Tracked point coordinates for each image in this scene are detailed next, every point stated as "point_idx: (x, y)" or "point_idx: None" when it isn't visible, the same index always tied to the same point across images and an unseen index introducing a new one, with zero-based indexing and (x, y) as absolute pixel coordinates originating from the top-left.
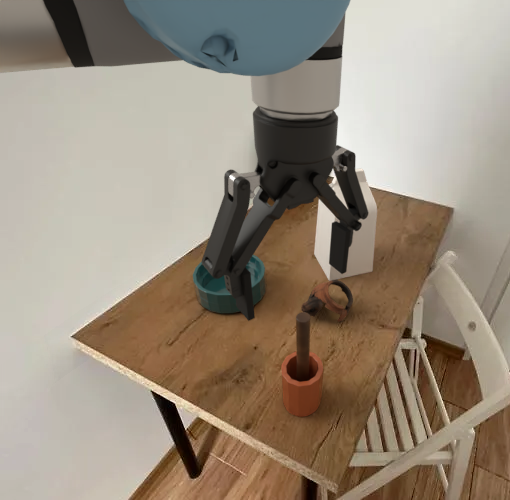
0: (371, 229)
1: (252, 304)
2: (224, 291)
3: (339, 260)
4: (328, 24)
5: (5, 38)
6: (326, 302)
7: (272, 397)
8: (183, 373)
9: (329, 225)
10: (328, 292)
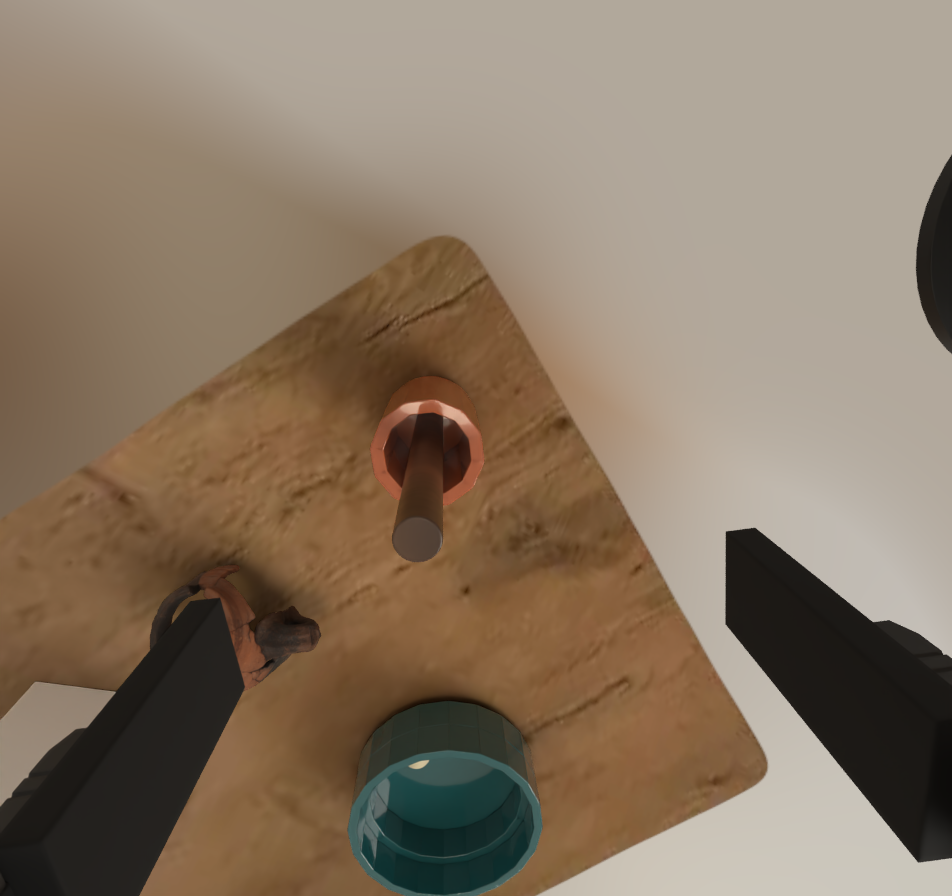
0: None
1: (775, 572)
2: (466, 773)
3: (196, 668)
4: None
5: None
6: (245, 625)
7: (488, 456)
8: (627, 600)
9: None
10: None
